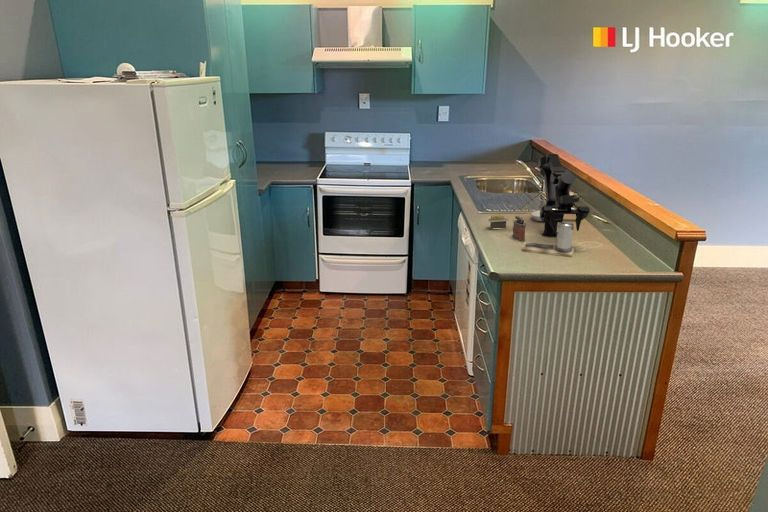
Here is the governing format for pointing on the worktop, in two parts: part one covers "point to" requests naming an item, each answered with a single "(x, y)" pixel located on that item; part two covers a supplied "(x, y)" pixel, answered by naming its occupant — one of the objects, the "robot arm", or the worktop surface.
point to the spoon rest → (538, 215)
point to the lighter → (519, 229)
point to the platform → (497, 222)
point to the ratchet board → (547, 249)
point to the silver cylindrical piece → (564, 235)
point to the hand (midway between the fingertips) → (566, 230)
